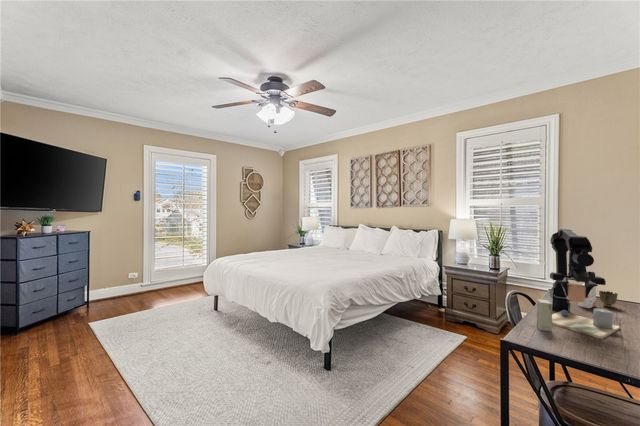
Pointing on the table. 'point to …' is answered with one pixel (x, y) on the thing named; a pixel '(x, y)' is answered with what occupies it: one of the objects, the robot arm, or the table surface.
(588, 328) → the birch board
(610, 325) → the grey rounded piece
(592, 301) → the ink cartridge box
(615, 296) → the cup
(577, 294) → the peach domed cylinder
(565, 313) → the blue ellipsoid
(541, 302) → the skincare box
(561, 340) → the table surface
